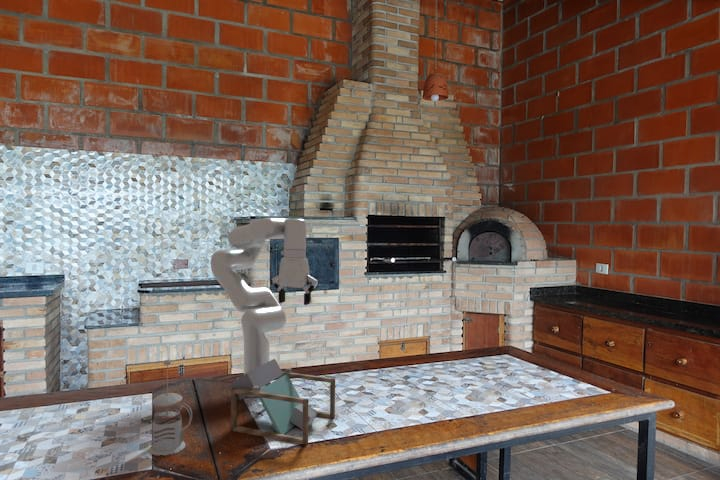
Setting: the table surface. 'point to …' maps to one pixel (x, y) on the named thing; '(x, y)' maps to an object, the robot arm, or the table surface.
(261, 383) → the hatch door
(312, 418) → the smooth gray block
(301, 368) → the table surface
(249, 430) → the stand
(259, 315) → the robot arm
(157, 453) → the french press
